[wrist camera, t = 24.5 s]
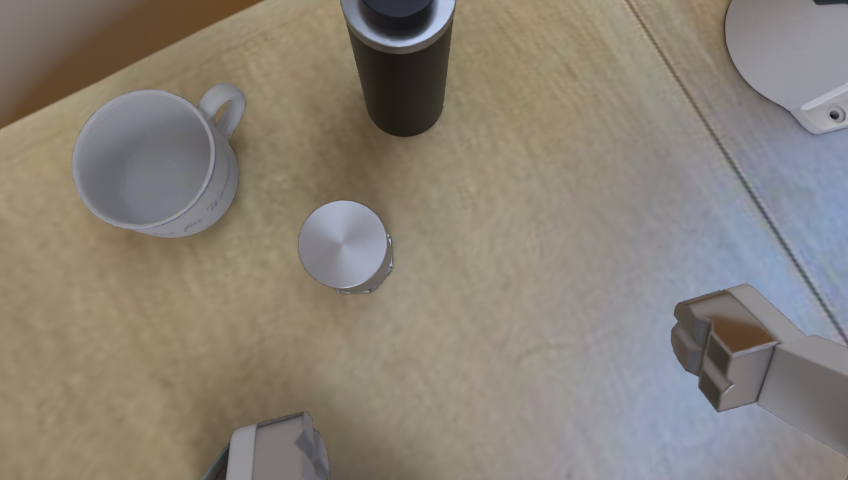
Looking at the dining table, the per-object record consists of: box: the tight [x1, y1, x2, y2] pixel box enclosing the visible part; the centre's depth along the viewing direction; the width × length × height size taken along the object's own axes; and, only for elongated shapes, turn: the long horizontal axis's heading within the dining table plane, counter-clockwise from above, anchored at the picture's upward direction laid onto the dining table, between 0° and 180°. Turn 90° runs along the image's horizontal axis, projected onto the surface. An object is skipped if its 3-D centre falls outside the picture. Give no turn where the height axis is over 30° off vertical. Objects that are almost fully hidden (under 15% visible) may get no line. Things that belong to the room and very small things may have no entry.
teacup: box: [72, 83, 246, 238], centre depth 43 cm, size 14×11×8 cm
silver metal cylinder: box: [298, 200, 393, 294], centre depth 42 cm, size 6×6×8 cm
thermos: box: [340, 0, 456, 137], centre depth 39 cm, size 7×7×17 cm
